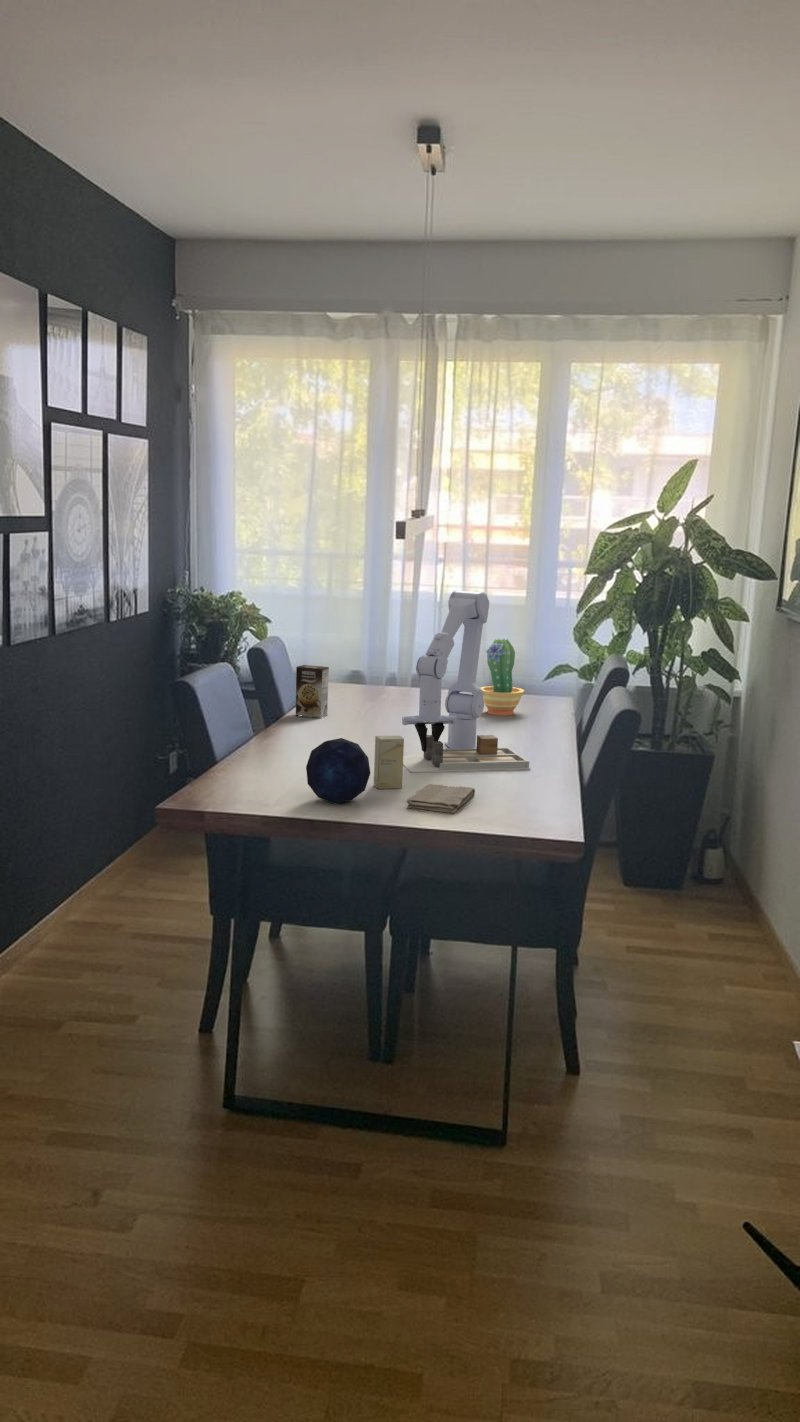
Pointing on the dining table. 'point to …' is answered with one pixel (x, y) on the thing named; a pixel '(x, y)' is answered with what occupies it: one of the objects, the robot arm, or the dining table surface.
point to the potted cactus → (501, 679)
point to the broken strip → (438, 758)
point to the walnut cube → (487, 744)
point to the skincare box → (388, 762)
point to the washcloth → (441, 799)
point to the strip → (449, 753)
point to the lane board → (425, 765)
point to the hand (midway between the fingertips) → (428, 750)
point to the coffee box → (312, 691)
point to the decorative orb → (338, 770)
